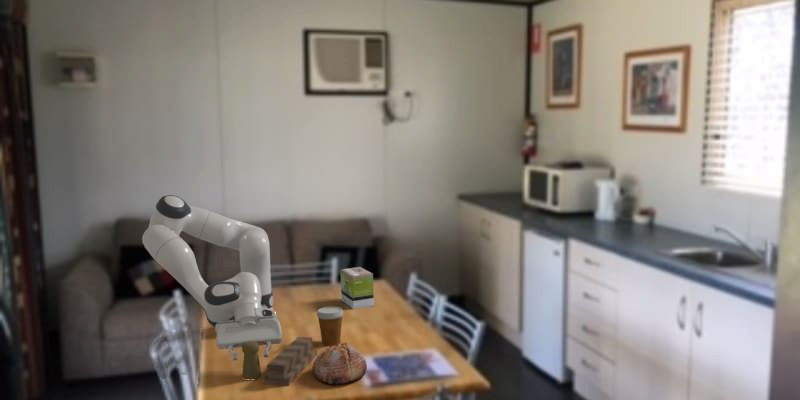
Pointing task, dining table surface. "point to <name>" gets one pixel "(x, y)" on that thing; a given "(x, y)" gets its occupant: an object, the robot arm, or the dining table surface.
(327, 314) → the disposable coffee cup
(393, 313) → the dining table surface
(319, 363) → the bread
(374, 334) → the dining table surface
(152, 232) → the robot arm
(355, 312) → the dining table surface
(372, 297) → the tea box
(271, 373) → the ridge stand
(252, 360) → the olive pawn
